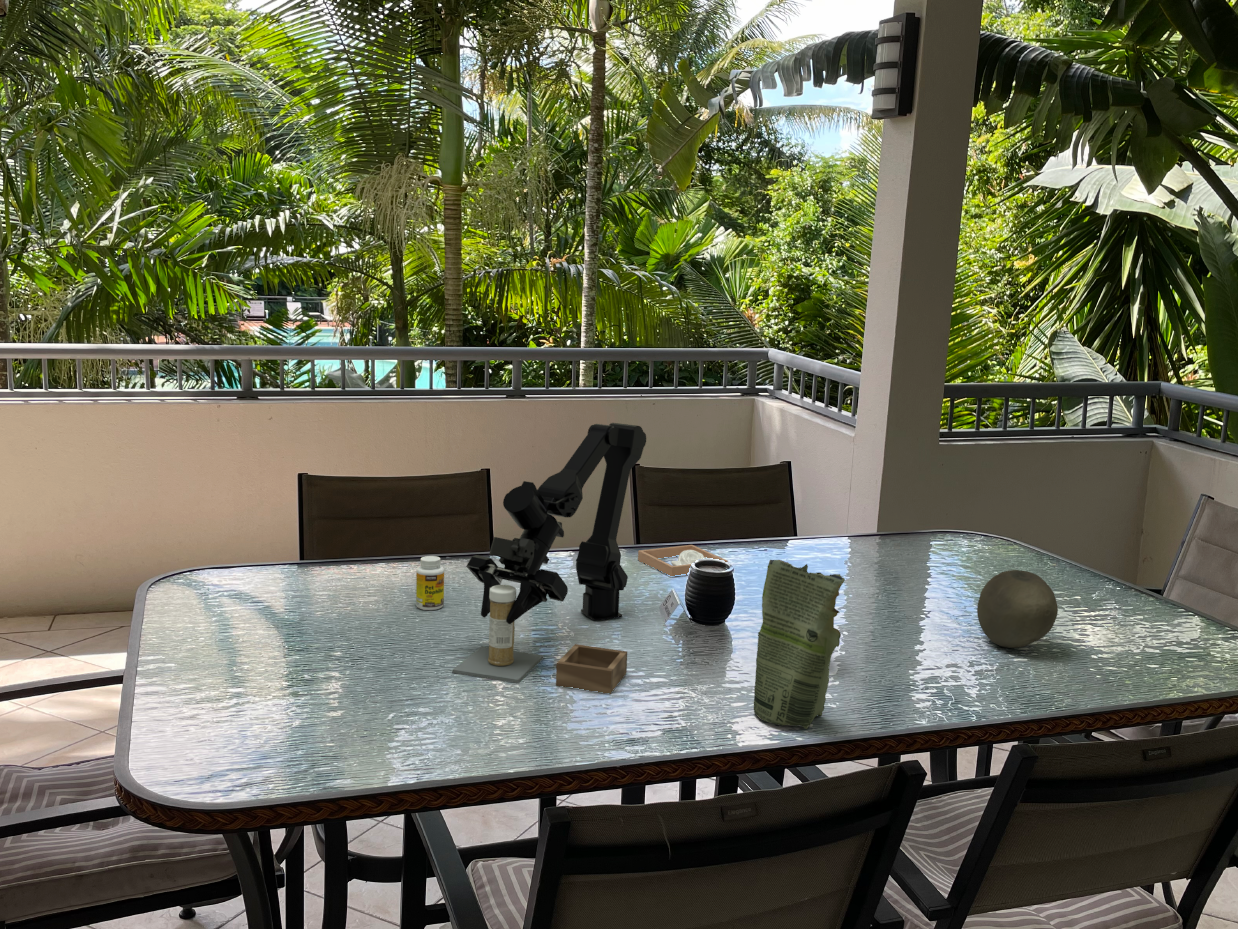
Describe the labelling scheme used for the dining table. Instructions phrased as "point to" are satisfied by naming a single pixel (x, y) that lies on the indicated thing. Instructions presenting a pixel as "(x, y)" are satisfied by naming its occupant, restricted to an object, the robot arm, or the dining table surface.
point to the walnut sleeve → (591, 668)
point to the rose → (687, 557)
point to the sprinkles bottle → (501, 625)
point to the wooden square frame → (652, 556)
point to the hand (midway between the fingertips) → (495, 619)
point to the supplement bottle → (430, 584)
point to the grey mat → (510, 673)
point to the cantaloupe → (1016, 608)
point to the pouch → (795, 644)
